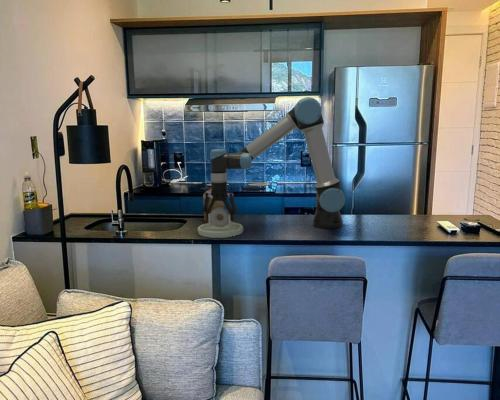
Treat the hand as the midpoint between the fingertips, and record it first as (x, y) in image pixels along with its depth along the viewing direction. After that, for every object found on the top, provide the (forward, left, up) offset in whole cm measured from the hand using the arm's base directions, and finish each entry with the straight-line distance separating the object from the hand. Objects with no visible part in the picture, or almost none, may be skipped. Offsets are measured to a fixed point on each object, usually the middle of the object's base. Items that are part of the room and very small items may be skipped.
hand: (220, 226), depth 208 cm
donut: (0, 0, 0) cm, 0 cm away
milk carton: (+12, -22, -3) cm, 25 cm away
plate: (0, 0, -3) cm, 3 cm away
